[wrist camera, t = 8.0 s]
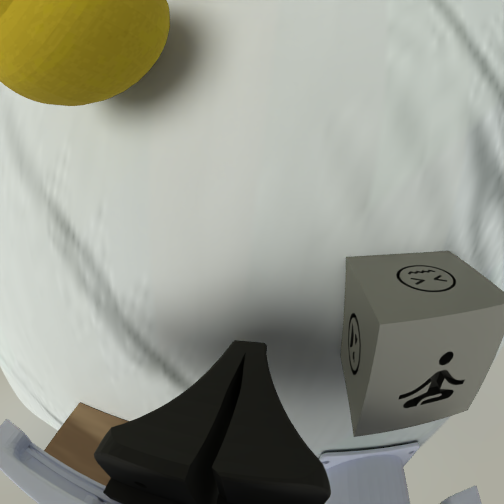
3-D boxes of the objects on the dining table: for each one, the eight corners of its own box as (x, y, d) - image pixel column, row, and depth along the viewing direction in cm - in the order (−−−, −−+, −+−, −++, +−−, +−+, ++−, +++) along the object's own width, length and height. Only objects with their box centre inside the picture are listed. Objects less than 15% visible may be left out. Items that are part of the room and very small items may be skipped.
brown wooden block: (237, 455, 16) (219, 532, 10) (86, 413, 18) (50, 464, 12) (236, 446, 16) (217, 528, 9) (79, 402, 18) (40, 454, 11)
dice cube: (339, 353, 12) (353, 436, 8) (345, 256, 11) (380, 324, 6) (429, 342, 11) (467, 410, 7) (448, 250, 10) (514, 301, 5)
